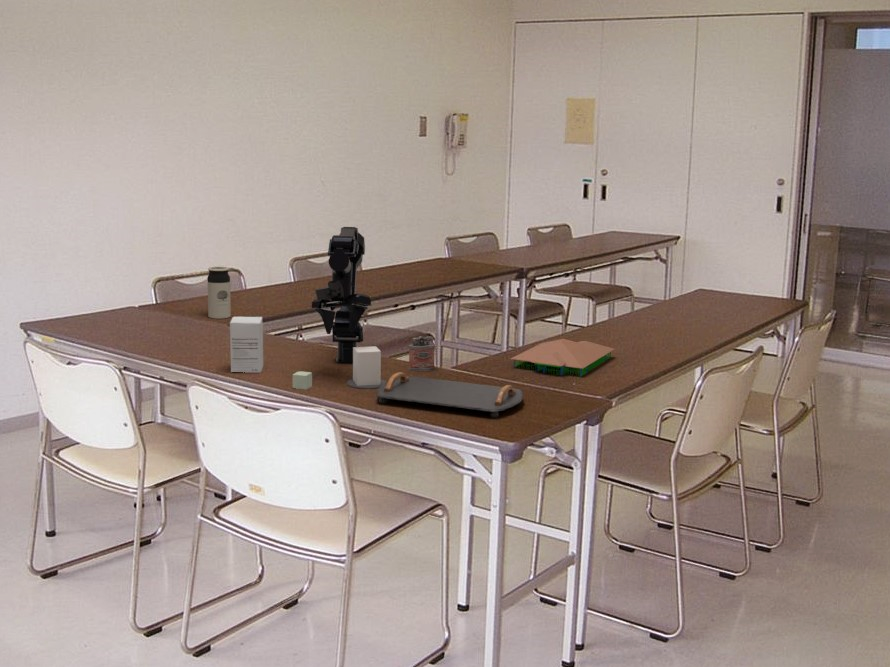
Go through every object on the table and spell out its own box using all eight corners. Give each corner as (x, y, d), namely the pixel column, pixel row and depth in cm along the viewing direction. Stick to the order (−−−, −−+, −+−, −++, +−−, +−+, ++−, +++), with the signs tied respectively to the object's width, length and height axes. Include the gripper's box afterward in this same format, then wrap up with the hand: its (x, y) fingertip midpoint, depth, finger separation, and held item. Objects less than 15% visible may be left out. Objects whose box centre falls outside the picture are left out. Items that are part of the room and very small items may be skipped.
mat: (345, 379, 301) (345, 377, 301) (383, 378, 303) (383, 377, 303) (348, 389, 290) (348, 387, 290) (388, 388, 292) (388, 386, 292)
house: (506, 371, 316) (507, 344, 314) (546, 350, 345) (547, 325, 343) (579, 381, 306) (580, 353, 305) (614, 358, 335) (615, 333, 334)
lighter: (410, 371, 311) (410, 338, 309) (407, 368, 314) (407, 336, 312) (436, 370, 314) (436, 337, 311) (433, 367, 317) (433, 335, 315)
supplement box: (233, 365, 314) (232, 316, 311) (263, 365, 315) (263, 316, 311) (230, 373, 305) (228, 322, 302) (261, 373, 306) (260, 322, 303)
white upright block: (352, 380, 298) (353, 347, 296) (375, 378, 300) (375, 346, 298) (357, 385, 292) (357, 352, 290) (380, 384, 294) (380, 351, 292)
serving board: (365, 404, 277) (365, 381, 276) (400, 384, 298) (400, 363, 297) (506, 423, 264) (506, 399, 263) (532, 400, 285) (533, 378, 284)
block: (298, 385, 294) (298, 371, 293) (311, 386, 293) (311, 372, 292) (292, 388, 290) (292, 374, 289) (306, 390, 289) (306, 375, 288)
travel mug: (207, 315, 387) (206, 266, 384) (229, 314, 390) (228, 266, 386) (209, 319, 380) (208, 270, 376) (231, 318, 382) (230, 269, 379)
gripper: (298, 277, 301) (296, 331, 299) (345, 270, 289) (343, 326, 287) (326, 283, 310) (324, 336, 307) (373, 276, 298) (371, 331, 296)
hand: (339, 332), depth 299 cm, fingers open, 9 cm apart
